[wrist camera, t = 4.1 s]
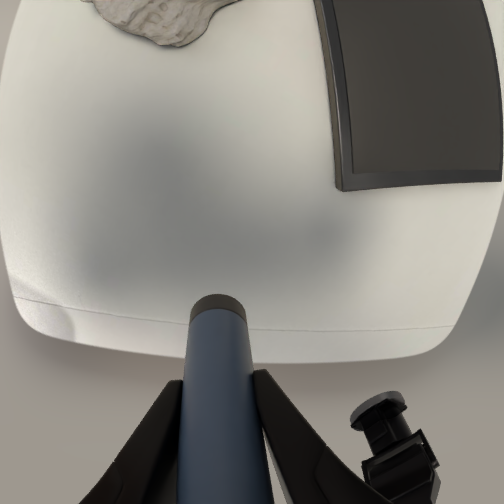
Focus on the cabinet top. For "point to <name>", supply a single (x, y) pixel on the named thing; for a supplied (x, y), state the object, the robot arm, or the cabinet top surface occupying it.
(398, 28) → the tablet
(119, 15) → the stone
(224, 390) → the stylus
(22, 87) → the cabinet top surface
